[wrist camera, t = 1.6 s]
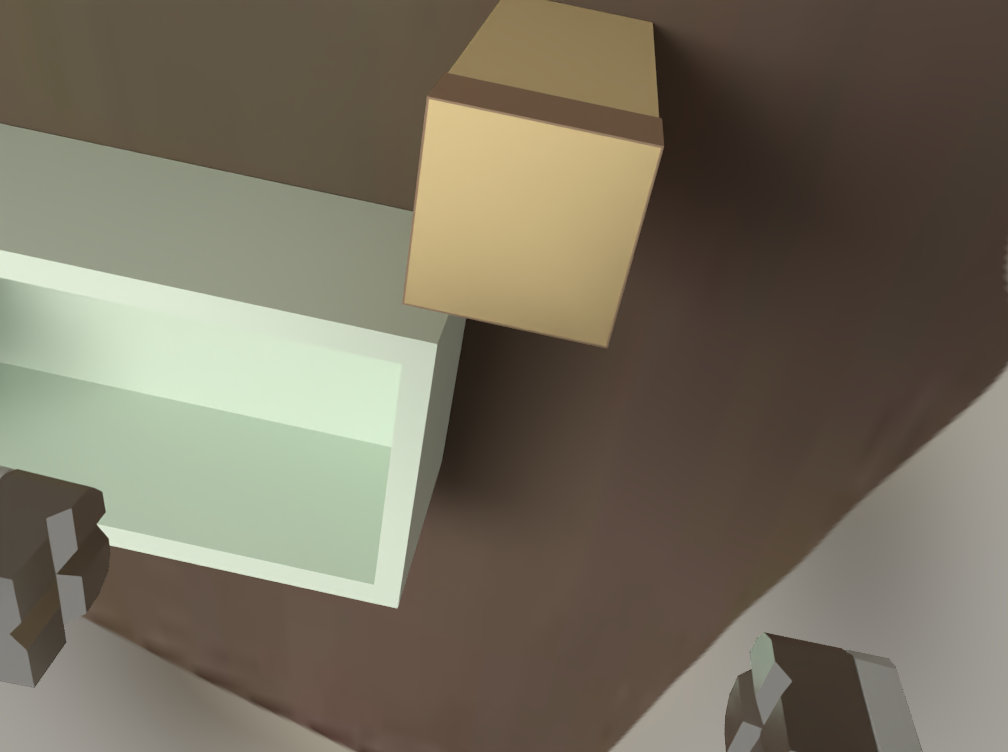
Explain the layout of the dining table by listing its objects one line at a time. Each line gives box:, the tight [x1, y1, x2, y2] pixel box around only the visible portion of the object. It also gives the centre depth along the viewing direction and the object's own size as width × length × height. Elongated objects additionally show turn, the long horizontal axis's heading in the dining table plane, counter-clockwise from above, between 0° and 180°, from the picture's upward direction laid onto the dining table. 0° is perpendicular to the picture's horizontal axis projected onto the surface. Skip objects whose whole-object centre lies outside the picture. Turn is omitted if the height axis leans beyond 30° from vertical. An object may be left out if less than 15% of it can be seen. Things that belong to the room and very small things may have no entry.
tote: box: [0, 123, 466, 608], centre depth 34 cm, size 12×28×9 cm, turn 80°
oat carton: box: [402, 0, 664, 348], centre depth 25 cm, size 5×5×13 cm
